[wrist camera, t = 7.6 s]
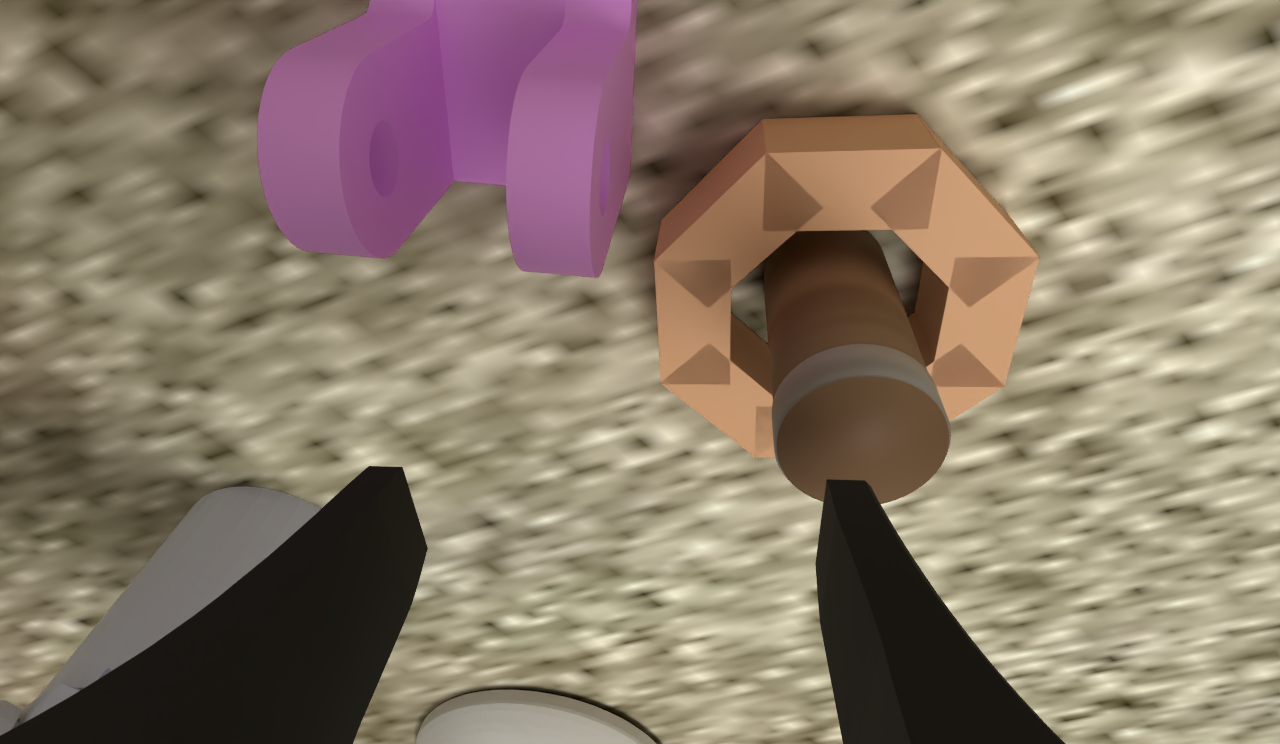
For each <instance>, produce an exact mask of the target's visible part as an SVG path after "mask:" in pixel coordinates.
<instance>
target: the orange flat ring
mask: <svg viewBox="0 0 1280 744" xmlns="http://www.w3.org/2000/svg"><path fill="white" fill-rule="evenodd" d="M837 230H893V231H894V232H895V233H896V234H897V235H898V236H899V237H900V238H901V239H902V240H903V241H904V242H905V243H906V244H907V245H908V246H909V247H910V248H911V249H912V250H913V251H914V252H915V253H916V254H917V255H918V256H919V257H920V259H921V260H922V261H923V267H922V273H921V279H920V284H919V290H918V296H917V301H916V307H915V312H914V313H912V314H911V315H910V316H908V317H907V318H908V320H909V323H910V326H911V328H912V331H913V334H914V336H915V339H916V342H917V344H918V347H919V350H920V352H921V355H922V358H923V360H924V363H925V366H926V368H927V371H928V372H929V374H930V375H931V377H932V378H933V380H934V383H935V385H936V387H937V390H938V393H939V395H940V398H941V401H942V403H943V406H944V409H945V411H946V414H947V416H948V419H949V421H950V420H952V419H953V418H955V417H956V416H958V415H960V414H961V413H963V412H964V411H966V410H968V409H969V408H971V407H972V406H974V405H976V404H977V403H979V402H980V401H982V400H984V399H985V398H987V397H988V396H990V395H992V394H993V393H995V392H996V391H998V390H999V389H1001V388H1003V387H1004V386H1005V382H1006V378H1007V374H1008V371H1009V367H1010V364H1011V360H1012V356H1013V353H1014V349H1015V345H1016V342H1017V338H1018V334H1019V331H1020V327H1021V323H1022V320H1023V316H1024V312H1025V309H1026V305H1027V301H1028V298H1029V294H1030V290H1031V287H1032V283H1033V280H1034V276H1035V272H1036V269H1037V265H1038V261H1039V258H1040V256H1039V255H1038V254H1037V252H1036V251H1035V250H1034V248H1033V247H1032V246H1031V244H1030V243H1029V242H1028V240H1027V239H1026V238H1025V236H1024V235H1023V234H1022V232H1021V231H1020V230H1019V228H1018V227H1017V226H1016V224H1015V223H1014V222H1013V220H1012V219H1011V218H1010V216H1009V215H1008V213H1006V212H1005V211H1004V210H1003V209H1002V208H1001V207H1000V205H999V204H998V203H997V202H996V201H995V200H994V199H993V198H992V197H991V195H990V194H989V193H988V192H987V191H986V190H985V189H984V188H983V187H982V185H981V184H980V183H979V182H978V181H977V180H976V179H975V178H974V177H973V175H972V174H971V173H970V172H969V171H968V170H967V169H966V168H965V166H964V165H963V164H962V163H961V162H960V161H959V160H958V159H957V158H956V156H955V155H954V154H953V153H952V152H951V151H950V150H949V149H948V148H947V146H946V145H945V144H944V143H943V142H942V141H941V140H940V139H939V138H938V136H937V135H936V134H935V133H934V132H933V131H932V130H931V129H930V128H929V126H928V125H927V124H926V123H925V122H924V121H923V120H922V119H921V117H920V116H919V114H903V115H872V116H840V117H809V118H778V119H762V120H761V121H760V122H759V123H758V124H757V125H756V126H755V127H754V128H753V129H752V130H751V131H750V132H749V133H748V134H747V135H746V136H745V137H744V138H743V139H742V140H741V141H740V142H739V143H738V144H737V145H736V146H735V147H734V148H733V149H732V150H731V151H730V152H729V153H728V154H727V155H726V156H725V157H724V158H723V159H722V160H721V161H720V162H719V163H718V164H717V165H716V166H715V167H714V168H713V169H712V170H711V171H710V172H709V173H708V174H707V175H706V176H705V177H704V178H703V179H702V180H701V181H700V182H699V183H698V184H697V185H696V186H695V187H694V188H693V189H692V190H691V191H690V192H689V193H688V194H687V195H686V196H685V197H684V198H683V199H682V200H681V201H680V202H679V203H678V204H677V205H676V206H675V207H674V208H673V209H672V210H671V211H670V212H669V213H668V214H667V215H666V216H665V217H664V218H663V219H662V220H661V224H660V230H659V235H658V241H657V246H656V252H655V257H654V268H655V286H656V304H657V322H658V340H659V357H660V375H661V384H662V385H664V386H665V387H666V388H667V389H669V390H670V391H671V392H672V393H674V394H675V395H676V396H678V397H679V398H680V399H681V400H683V401H684V402H685V403H687V404H688V405H689V406H690V407H692V408H693V409H694V410H695V411H697V412H698V413H699V414H701V415H702V416H703V417H704V418H706V419H707V420H708V421H709V422H711V423H712V424H713V425H715V426H716V427H717V428H718V429H720V430H721V431H722V432H724V433H725V434H726V435H727V436H729V437H730V438H731V439H732V440H734V441H735V442H736V443H738V444H739V445H740V446H741V447H743V448H744V449H745V450H746V451H748V452H749V453H750V454H752V455H753V456H754V457H755V458H756V457H767V458H776V457H775V453H774V442H773V428H772V403H773V396H772V383H771V370H770V357H769V345H768V344H767V343H765V342H764V341H763V340H762V339H761V338H760V337H758V336H757V335H756V334H755V333H754V332H753V331H751V330H750V329H749V328H748V327H747V326H746V325H744V324H743V323H742V322H741V321H740V320H739V319H738V318H736V317H735V316H734V315H733V314H732V313H731V288H732V287H733V286H735V285H736V284H737V283H738V282H739V281H740V280H741V279H743V278H744V277H745V276H746V275H747V274H748V273H750V272H751V271H752V270H753V269H754V268H755V267H756V266H758V265H759V264H760V263H761V262H762V261H763V260H764V259H766V258H767V257H768V256H769V255H770V254H771V253H772V252H774V251H775V250H776V249H777V248H778V247H779V246H780V245H782V244H783V243H784V242H785V241H786V240H787V239H788V238H790V237H791V236H792V235H793V234H794V233H795V232H797V231H837Z"/></svg>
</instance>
